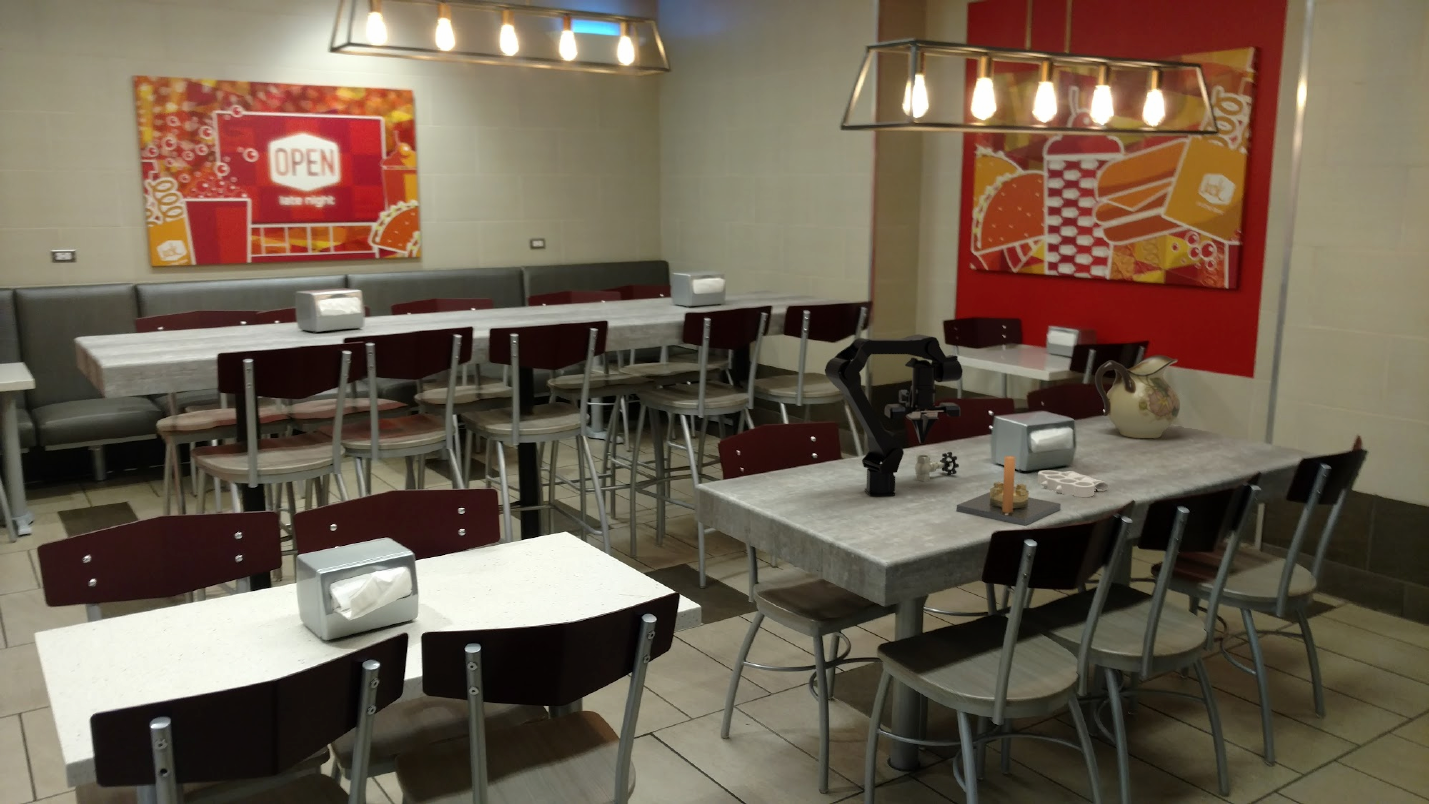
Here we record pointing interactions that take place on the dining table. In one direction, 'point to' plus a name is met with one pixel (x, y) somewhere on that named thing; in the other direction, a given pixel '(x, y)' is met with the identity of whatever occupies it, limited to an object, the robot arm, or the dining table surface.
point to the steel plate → (1018, 516)
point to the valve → (934, 466)
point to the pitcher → (1140, 397)
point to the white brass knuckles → (1070, 483)
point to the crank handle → (1009, 490)
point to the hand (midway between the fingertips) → (921, 443)
